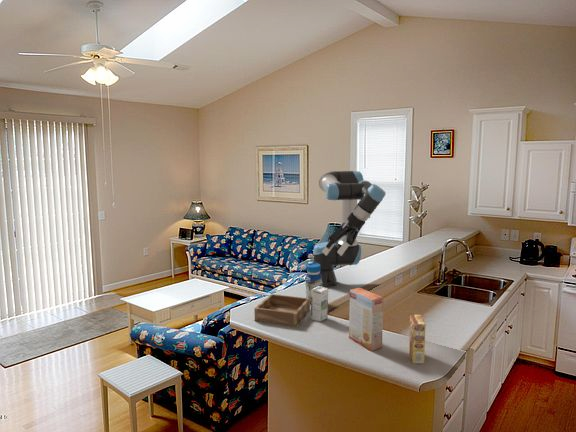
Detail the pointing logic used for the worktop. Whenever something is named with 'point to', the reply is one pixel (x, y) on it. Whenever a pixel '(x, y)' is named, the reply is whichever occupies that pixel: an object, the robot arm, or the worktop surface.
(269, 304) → the crate
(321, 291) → the syrup box
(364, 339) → the cracker box
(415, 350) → the candy box
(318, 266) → the beverage bottle
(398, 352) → the worktop surface
